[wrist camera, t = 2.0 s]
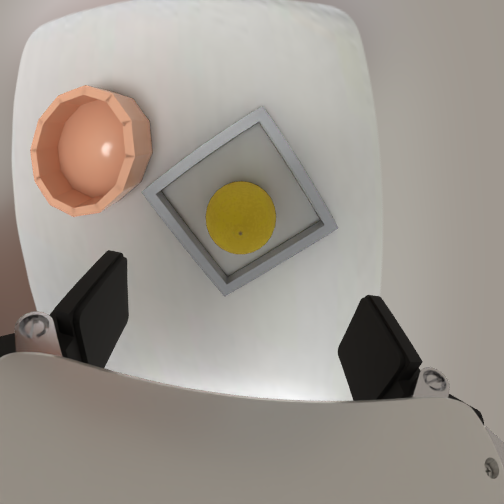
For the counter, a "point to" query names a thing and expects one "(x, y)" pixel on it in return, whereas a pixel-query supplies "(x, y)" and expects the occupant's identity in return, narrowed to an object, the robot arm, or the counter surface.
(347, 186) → the counter surface
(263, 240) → the lemon
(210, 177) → the counter surface
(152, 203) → the gray square frame
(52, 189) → the bowl
